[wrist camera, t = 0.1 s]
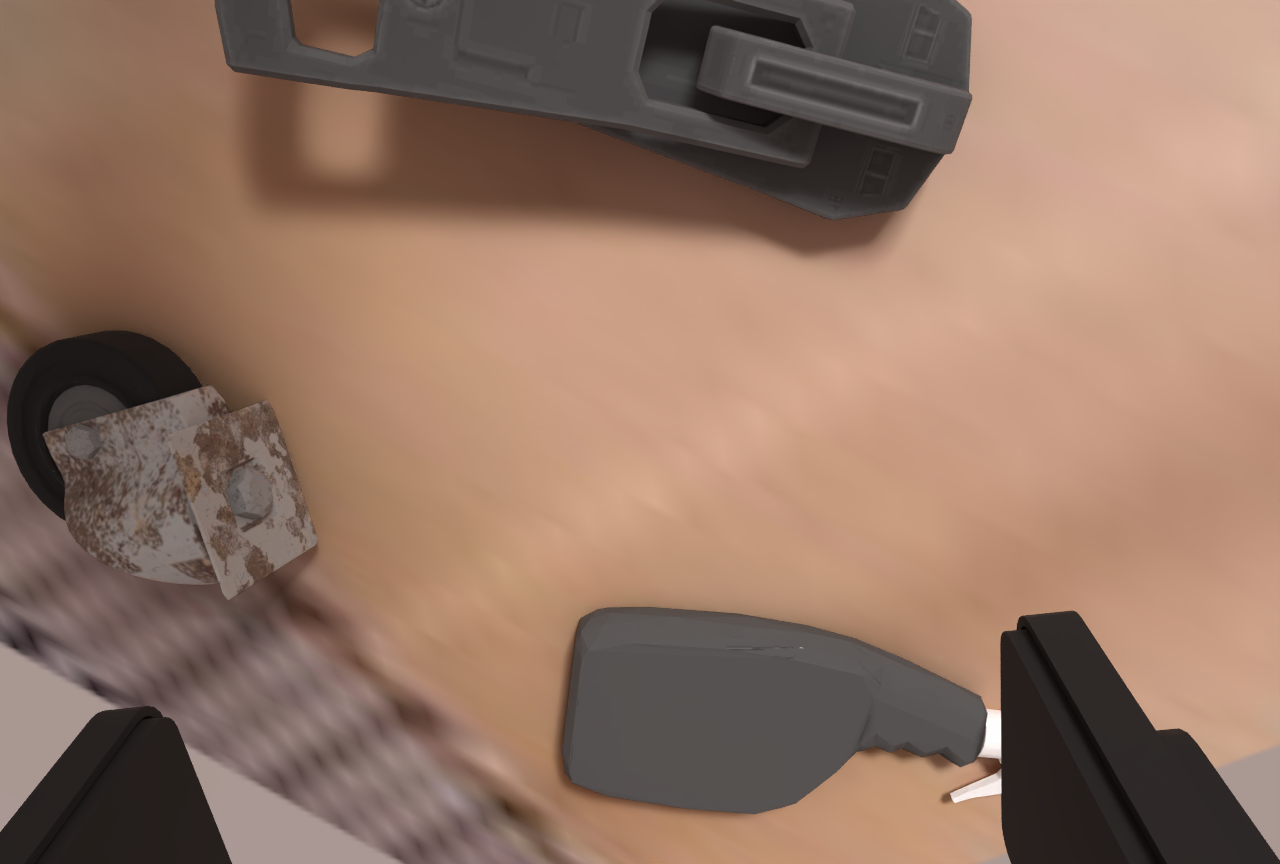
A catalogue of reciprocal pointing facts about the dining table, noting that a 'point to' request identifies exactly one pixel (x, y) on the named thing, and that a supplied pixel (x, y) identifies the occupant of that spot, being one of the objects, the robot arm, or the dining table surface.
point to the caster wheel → (156, 464)
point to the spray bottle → (750, 710)
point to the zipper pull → (676, 80)
